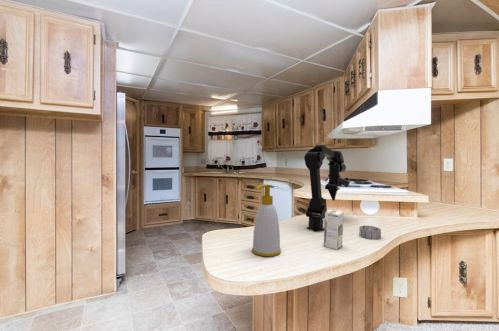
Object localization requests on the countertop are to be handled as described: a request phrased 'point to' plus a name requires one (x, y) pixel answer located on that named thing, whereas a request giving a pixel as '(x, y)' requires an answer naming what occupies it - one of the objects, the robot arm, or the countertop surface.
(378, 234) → the grey ribbed ring
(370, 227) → the cap
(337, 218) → the syrup box
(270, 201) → the soap bottle
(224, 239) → the countertop surface
